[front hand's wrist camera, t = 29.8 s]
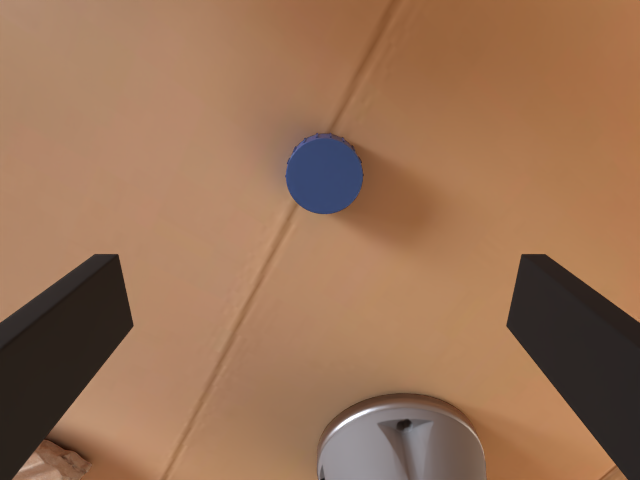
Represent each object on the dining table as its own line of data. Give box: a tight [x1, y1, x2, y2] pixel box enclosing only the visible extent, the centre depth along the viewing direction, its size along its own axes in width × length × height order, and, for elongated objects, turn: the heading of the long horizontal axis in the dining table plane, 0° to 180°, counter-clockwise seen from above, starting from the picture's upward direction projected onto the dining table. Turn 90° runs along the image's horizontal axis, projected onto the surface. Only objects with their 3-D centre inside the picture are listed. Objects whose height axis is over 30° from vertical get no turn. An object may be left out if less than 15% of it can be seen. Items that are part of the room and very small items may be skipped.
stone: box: [12, 440, 92, 480], centre depth 35 cm, size 13×12×2 cm
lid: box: [285, 133, 363, 214], centre depth 25 cm, size 5×5×2 cm
